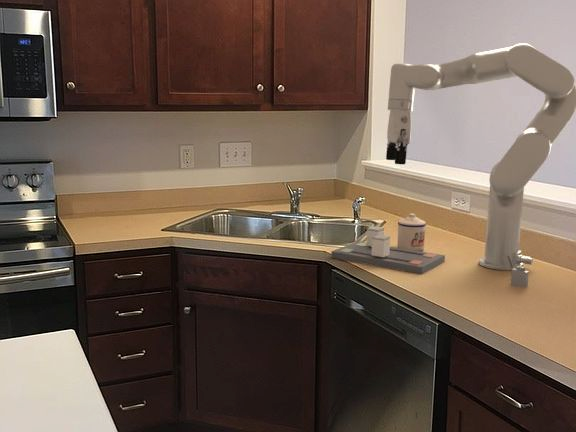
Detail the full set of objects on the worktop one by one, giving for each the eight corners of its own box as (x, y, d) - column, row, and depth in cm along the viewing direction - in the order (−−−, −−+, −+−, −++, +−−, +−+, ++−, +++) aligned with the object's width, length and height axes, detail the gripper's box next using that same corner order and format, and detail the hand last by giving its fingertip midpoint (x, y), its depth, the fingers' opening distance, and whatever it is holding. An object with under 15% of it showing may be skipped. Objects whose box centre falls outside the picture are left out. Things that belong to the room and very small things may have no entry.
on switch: (383, 245, 209) (384, 228, 208) (377, 247, 206) (378, 230, 204) (372, 243, 211) (372, 226, 210) (366, 245, 208) (366, 228, 207)
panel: (444, 261, 199) (445, 254, 199) (422, 274, 186) (422, 266, 185) (357, 247, 216) (357, 240, 216) (331, 257, 202) (331, 250, 202)
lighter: (527, 286, 175) (530, 257, 174) (525, 288, 174) (527, 259, 172) (502, 281, 180) (504, 253, 178) (499, 282, 178) (501, 254, 177)
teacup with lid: (414, 253, 209) (415, 217, 207) (390, 248, 215) (392, 213, 213) (435, 247, 217) (437, 213, 215) (412, 242, 223) (413, 209, 221)
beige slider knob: (389, 254, 197) (390, 236, 196) (383, 257, 194) (384, 238, 192) (377, 252, 199) (378, 234, 198) (371, 255, 196) (372, 237, 195)
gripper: (421, 107, 190) (415, 166, 193) (404, 105, 207) (399, 158, 210) (396, 106, 189) (391, 165, 192) (381, 103, 206) (376, 158, 209)
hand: (395, 161), depth 201 cm, fingers open, 9 cm apart
